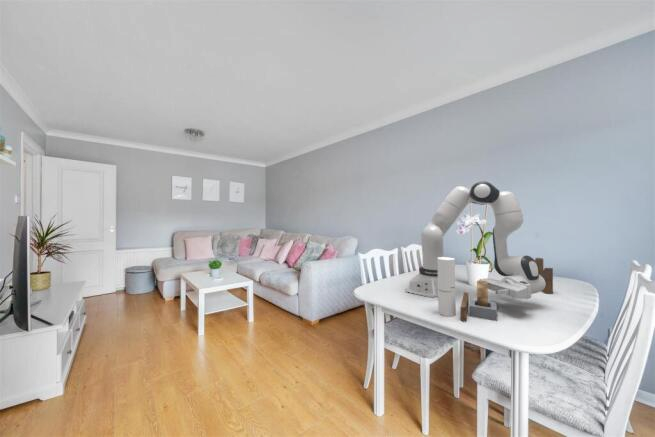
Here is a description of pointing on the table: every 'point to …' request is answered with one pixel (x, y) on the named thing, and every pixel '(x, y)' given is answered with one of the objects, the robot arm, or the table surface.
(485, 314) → the socket block
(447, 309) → the cylindrical container
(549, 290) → the wooden block
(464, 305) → the rail
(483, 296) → the brown wooden tall bar
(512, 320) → the table surface
